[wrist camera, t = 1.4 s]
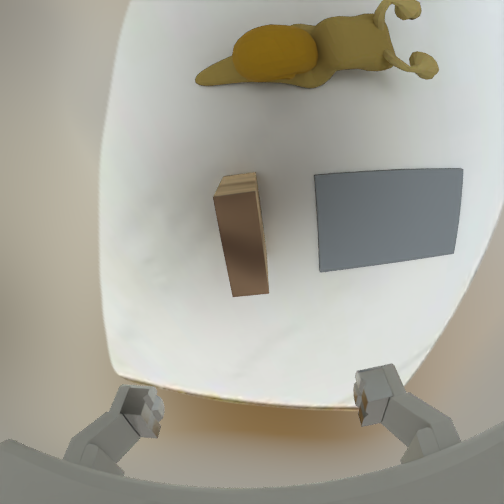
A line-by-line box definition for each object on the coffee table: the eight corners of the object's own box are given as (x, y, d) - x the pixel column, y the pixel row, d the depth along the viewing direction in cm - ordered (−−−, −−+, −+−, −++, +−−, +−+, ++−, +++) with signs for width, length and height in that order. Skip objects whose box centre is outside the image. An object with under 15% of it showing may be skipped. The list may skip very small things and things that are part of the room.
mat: (314, 175, 31) (315, 175, 31) (461, 168, 30) (463, 169, 29) (319, 270, 36) (320, 272, 36) (452, 252, 35) (453, 253, 35)
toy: (395, 83, 26) (445, 79, 17) (207, 116, 28) (184, 119, 20) (378, 18, 22) (420, -7, 13) (188, 49, 25) (158, 26, 16)
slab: (223, 176, 31) (213, 197, 24) (255, 172, 31) (255, 191, 24) (237, 258, 36) (232, 297, 29) (266, 254, 36) (269, 293, 29)
